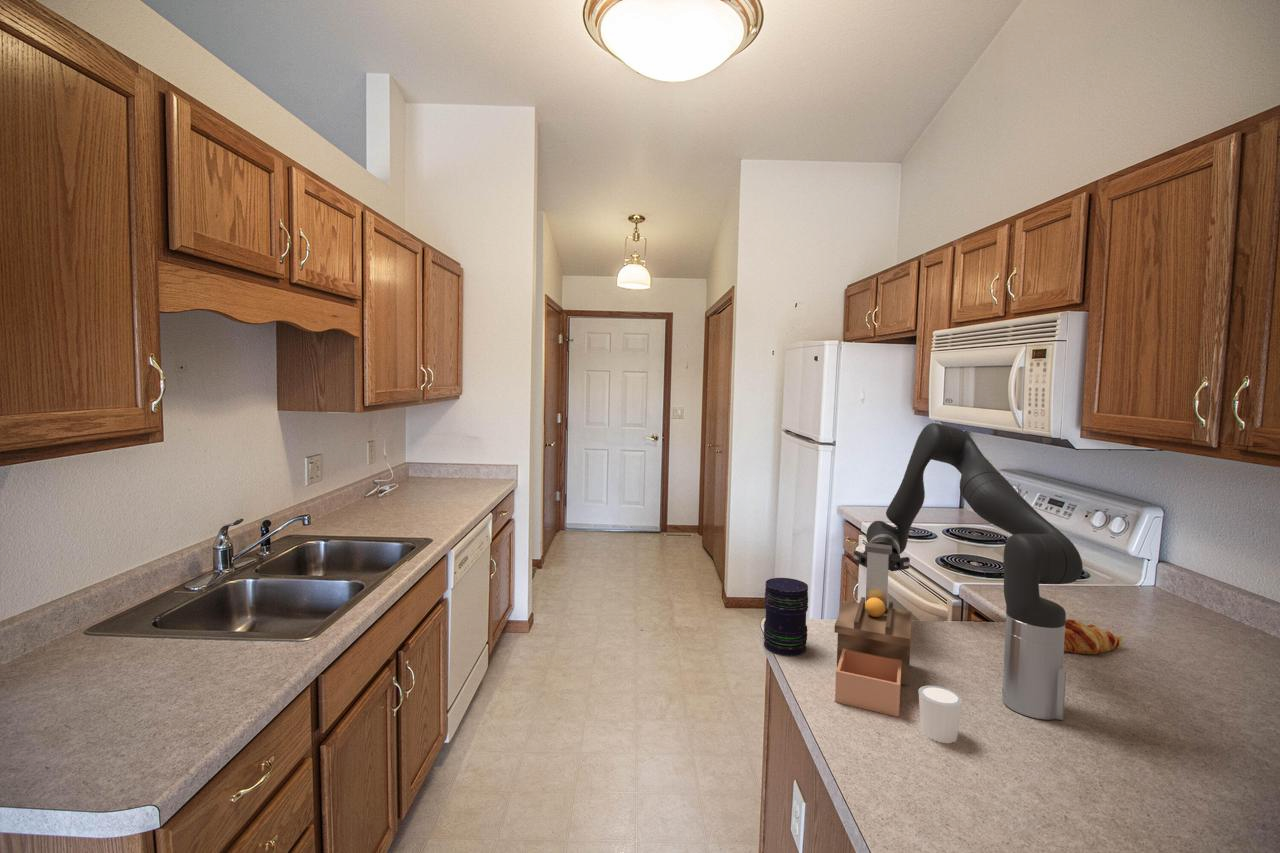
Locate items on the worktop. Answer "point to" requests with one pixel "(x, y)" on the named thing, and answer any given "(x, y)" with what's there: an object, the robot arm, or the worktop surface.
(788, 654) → the dark blue ribbed barrel
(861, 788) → the worktop surface
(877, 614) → the ball
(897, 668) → the orange open drawer
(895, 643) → the shelf
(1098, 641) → the croissant
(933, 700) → the white cylinder
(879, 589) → the grey metal tall block
